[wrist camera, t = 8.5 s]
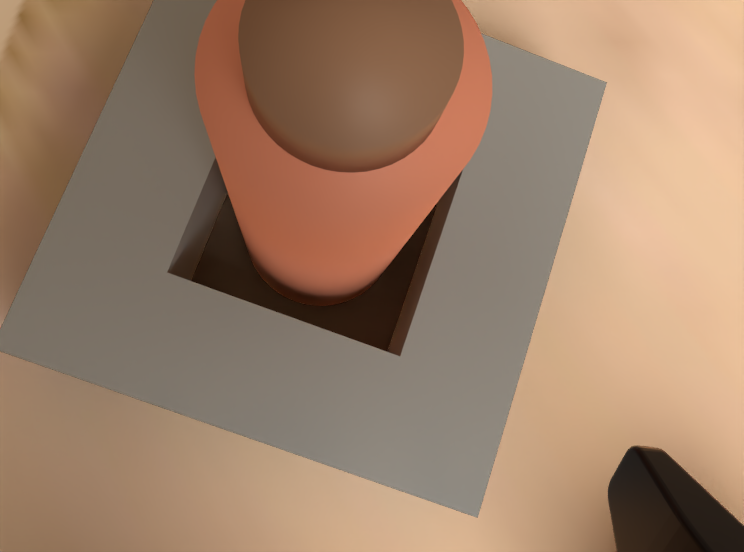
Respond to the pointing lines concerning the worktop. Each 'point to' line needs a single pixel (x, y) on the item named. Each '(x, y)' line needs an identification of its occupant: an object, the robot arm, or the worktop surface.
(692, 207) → the worktop surface
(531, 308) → the socket board
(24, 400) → the worktop surface
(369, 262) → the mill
